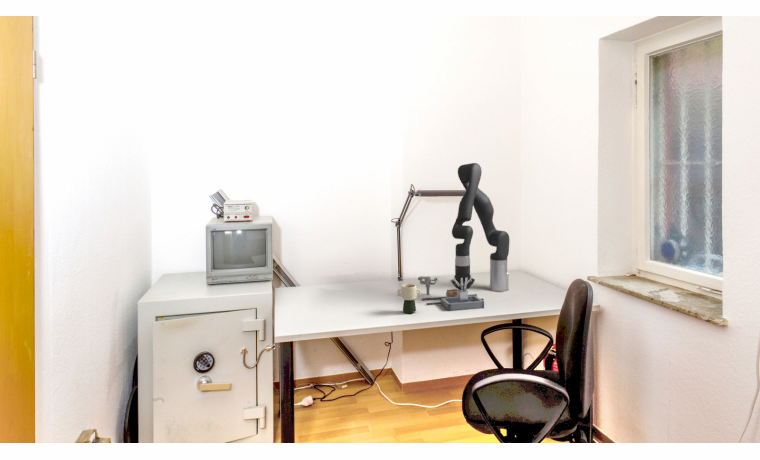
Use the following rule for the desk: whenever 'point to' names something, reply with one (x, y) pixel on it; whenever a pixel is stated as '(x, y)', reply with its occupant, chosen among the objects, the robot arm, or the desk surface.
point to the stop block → (462, 296)
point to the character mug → (409, 297)
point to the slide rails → (440, 298)
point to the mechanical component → (427, 282)
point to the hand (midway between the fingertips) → (462, 296)
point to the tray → (452, 303)
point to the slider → (451, 293)
